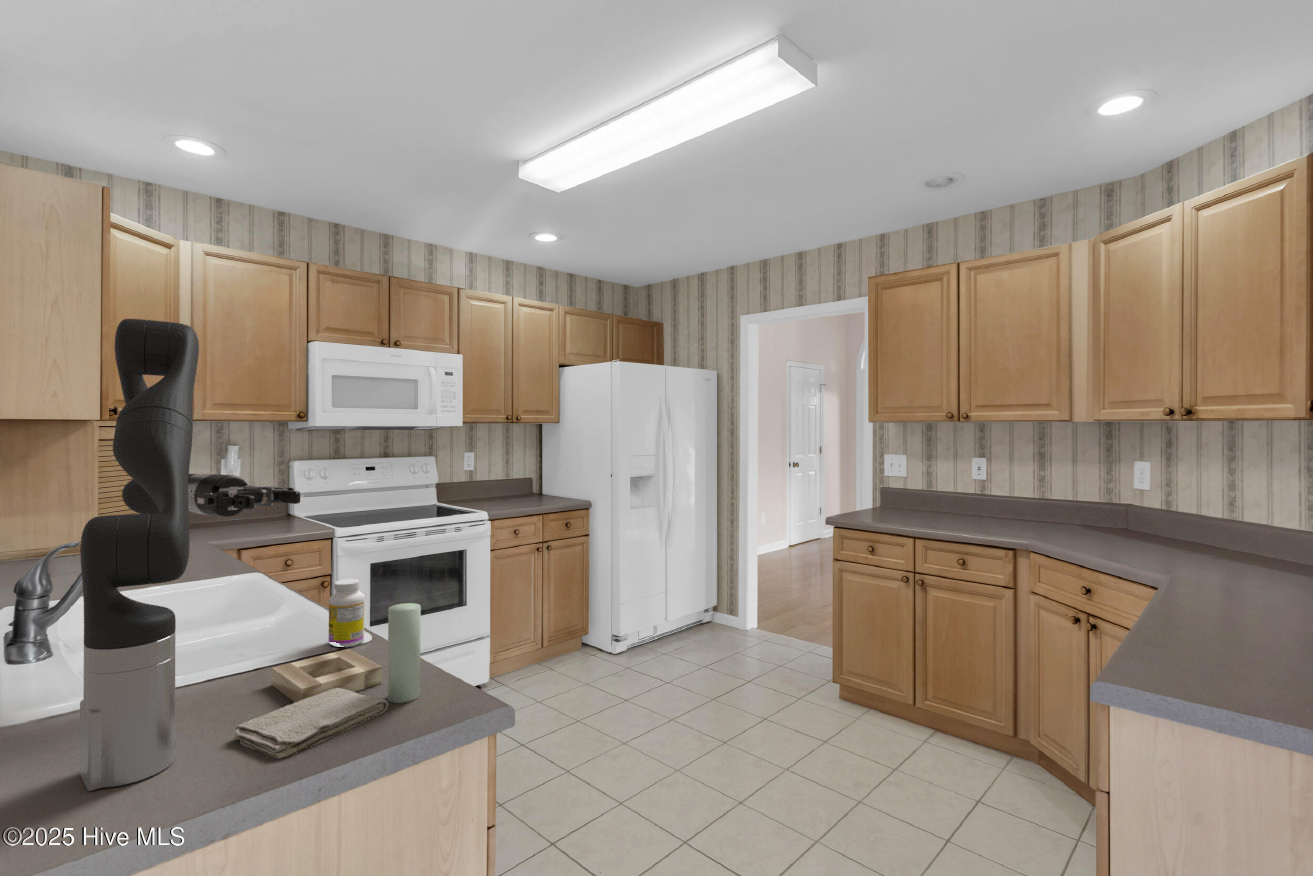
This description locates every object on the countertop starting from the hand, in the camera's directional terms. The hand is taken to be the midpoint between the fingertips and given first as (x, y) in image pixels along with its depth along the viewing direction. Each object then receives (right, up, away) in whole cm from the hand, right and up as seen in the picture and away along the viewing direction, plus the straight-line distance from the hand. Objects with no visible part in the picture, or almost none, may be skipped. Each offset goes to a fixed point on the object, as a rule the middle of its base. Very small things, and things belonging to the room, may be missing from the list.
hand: (276, 500), depth 110 cm
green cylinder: (+24, -32, -4) cm, 40 cm away
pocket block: (+8, -32, +1) cm, 33 cm away
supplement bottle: (+2, -32, +22) cm, 38 cm away
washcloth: (+14, -33, -14) cm, 39 cm away
